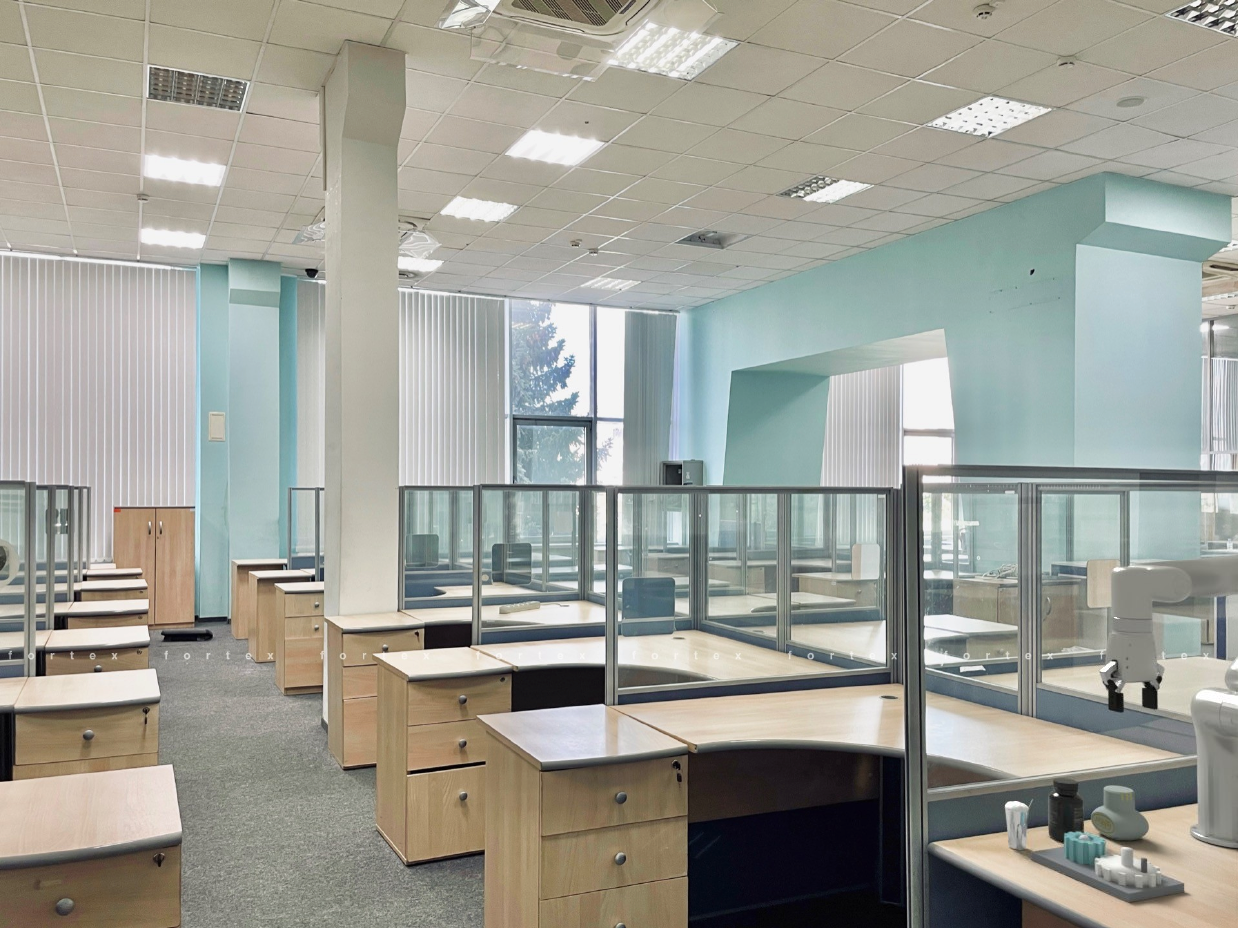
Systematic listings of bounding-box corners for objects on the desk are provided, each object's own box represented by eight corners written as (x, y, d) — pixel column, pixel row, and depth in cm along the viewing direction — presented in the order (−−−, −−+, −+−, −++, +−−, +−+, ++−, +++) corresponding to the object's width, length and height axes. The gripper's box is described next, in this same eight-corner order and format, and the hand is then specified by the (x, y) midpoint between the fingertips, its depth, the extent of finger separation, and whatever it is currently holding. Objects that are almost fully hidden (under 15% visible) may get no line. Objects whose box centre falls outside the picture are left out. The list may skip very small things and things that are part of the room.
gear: (1083, 850, 187) (1082, 829, 188) (1114, 862, 181) (1114, 841, 181) (1056, 854, 185) (1055, 833, 185) (1086, 867, 178) (1086, 845, 178)
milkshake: (1035, 852, 190) (1035, 802, 190) (1007, 850, 191) (1007, 800, 191) (1030, 844, 194) (1030, 795, 195) (1003, 842, 195) (1002, 793, 196)
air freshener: (1084, 829, 205) (1084, 782, 205) (1117, 826, 207) (1116, 780, 207) (1122, 846, 194) (1121, 797, 195) (1156, 843, 196) (1155, 795, 197)
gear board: (1083, 850, 191) (1083, 818, 192) (1184, 891, 171) (1183, 854, 171) (1031, 859, 186) (1030, 825, 186) (1128, 902, 166) (1128, 864, 166)
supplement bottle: (1078, 834, 201) (1078, 777, 202) (1088, 844, 195) (1087, 786, 195) (1044, 831, 203) (1044, 775, 203) (1053, 842, 196) (1052, 783, 197)
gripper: (1145, 623, 202) (1146, 703, 201) (1086, 625, 195) (1087, 708, 194) (1177, 627, 195) (1179, 710, 194) (1117, 629, 188) (1118, 716, 187)
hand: (1133, 709), depth 194 cm, fingers open, 9 cm apart
